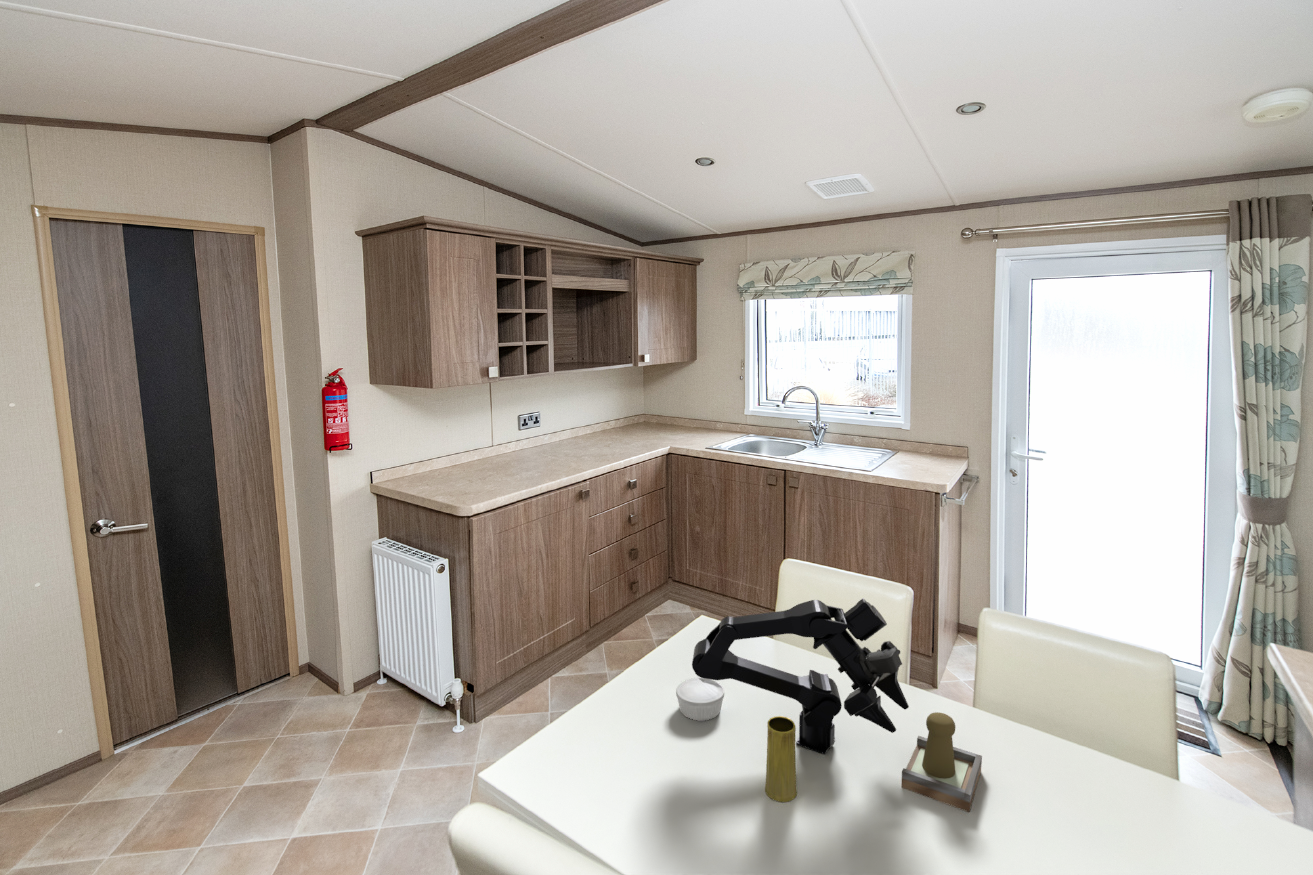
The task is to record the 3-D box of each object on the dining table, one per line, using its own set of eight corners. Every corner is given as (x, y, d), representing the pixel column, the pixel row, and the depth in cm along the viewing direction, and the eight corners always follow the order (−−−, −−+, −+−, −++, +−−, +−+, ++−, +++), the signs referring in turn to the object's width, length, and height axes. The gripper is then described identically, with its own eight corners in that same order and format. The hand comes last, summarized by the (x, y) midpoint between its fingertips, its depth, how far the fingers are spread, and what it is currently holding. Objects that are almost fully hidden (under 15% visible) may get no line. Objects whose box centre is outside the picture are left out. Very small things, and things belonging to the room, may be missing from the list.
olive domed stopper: (940, 755, 130) (942, 705, 129) (962, 774, 125) (965, 722, 123) (915, 761, 129) (917, 711, 127) (936, 781, 123) (939, 728, 121)
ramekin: (732, 705, 154) (732, 684, 153) (710, 730, 145) (710, 708, 144) (691, 692, 160) (691, 672, 159) (667, 715, 150) (667, 694, 150)
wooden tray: (901, 787, 125) (901, 770, 124) (917, 750, 135) (918, 735, 135) (969, 812, 118) (970, 795, 118) (981, 771, 129) (982, 755, 128)
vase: (778, 807, 121) (778, 737, 118) (758, 787, 126) (758, 720, 124) (803, 795, 123) (804, 727, 121) (783, 776, 129) (783, 710, 126)
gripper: (861, 654, 122) (920, 727, 118) (889, 617, 137) (943, 680, 133) (820, 680, 128) (875, 750, 124) (852, 642, 143) (901, 703, 139)
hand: (900, 719), depth 130 cm, fingers open, 9 cm apart
